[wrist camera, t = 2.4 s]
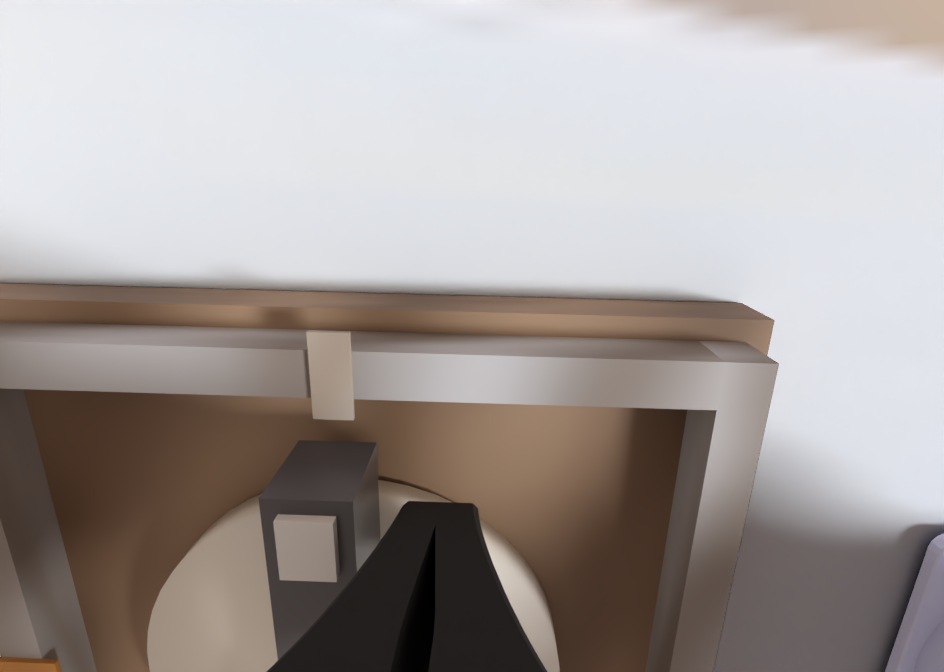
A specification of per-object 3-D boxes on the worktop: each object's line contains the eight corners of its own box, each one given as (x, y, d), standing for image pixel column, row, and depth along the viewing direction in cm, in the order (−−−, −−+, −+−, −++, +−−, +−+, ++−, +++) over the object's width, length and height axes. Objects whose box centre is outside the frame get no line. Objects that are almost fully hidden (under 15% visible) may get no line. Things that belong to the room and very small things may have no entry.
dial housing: (740, 303, 12) (815, 341, 10) (647, 815, 18) (677, 935, 15) (-6, 282, 13) (-145, 314, 10) (127, 791, 18) (61, 904, 15)
